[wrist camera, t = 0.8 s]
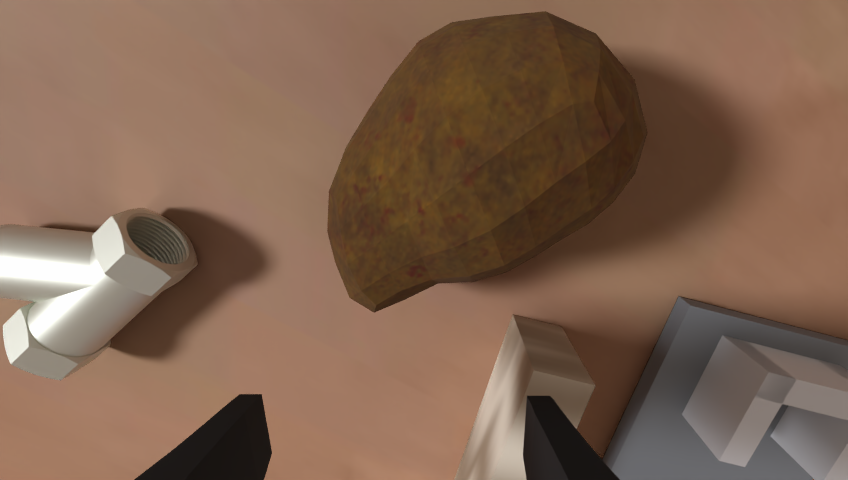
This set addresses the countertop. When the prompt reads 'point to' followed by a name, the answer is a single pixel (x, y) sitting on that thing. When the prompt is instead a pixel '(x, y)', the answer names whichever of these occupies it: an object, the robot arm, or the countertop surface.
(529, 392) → the slat
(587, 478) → the robot arm
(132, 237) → the pipe fitting
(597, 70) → the potato
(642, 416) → the board
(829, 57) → the countertop surface
